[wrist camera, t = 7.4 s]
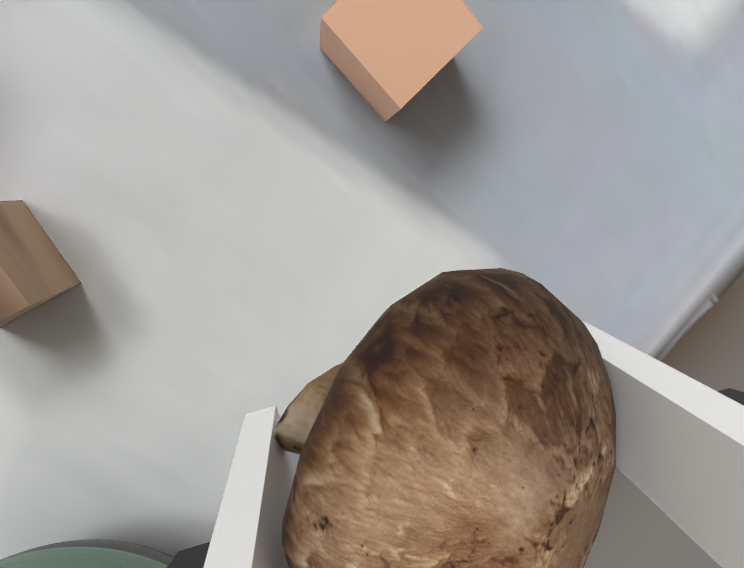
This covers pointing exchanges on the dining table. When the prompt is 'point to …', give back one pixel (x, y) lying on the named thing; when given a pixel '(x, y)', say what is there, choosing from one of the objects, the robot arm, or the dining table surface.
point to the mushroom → (455, 435)
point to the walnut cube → (28, 263)
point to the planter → (88, 556)
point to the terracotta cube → (394, 45)
